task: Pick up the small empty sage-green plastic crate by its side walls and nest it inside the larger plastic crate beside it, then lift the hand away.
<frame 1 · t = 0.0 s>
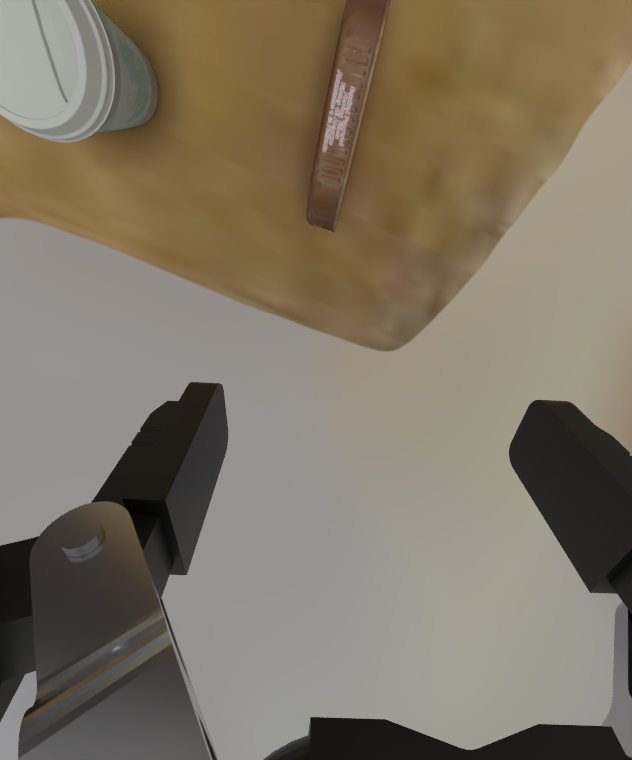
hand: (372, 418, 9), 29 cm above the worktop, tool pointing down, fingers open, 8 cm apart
tin: (340, 127, 30), on the worktop
coffee cup: (123, 83, 28), on the worktop
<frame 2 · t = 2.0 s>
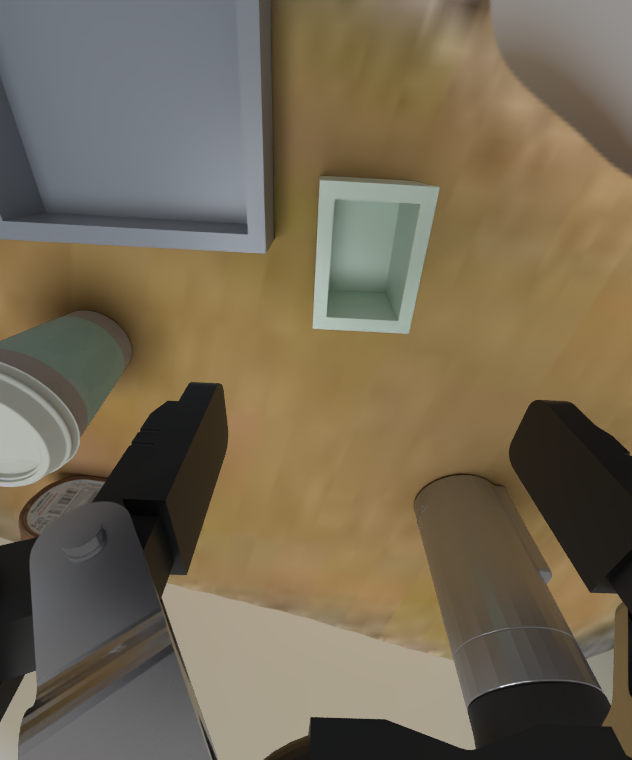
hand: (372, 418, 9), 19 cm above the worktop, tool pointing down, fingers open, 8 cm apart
small crate: (359, 243, 24), on the worktop
tin: (127, 484, 39), on the worktop
large crate: (133, 83, 20), on the worktop
coffee cup: (98, 341, 29), on the worktop
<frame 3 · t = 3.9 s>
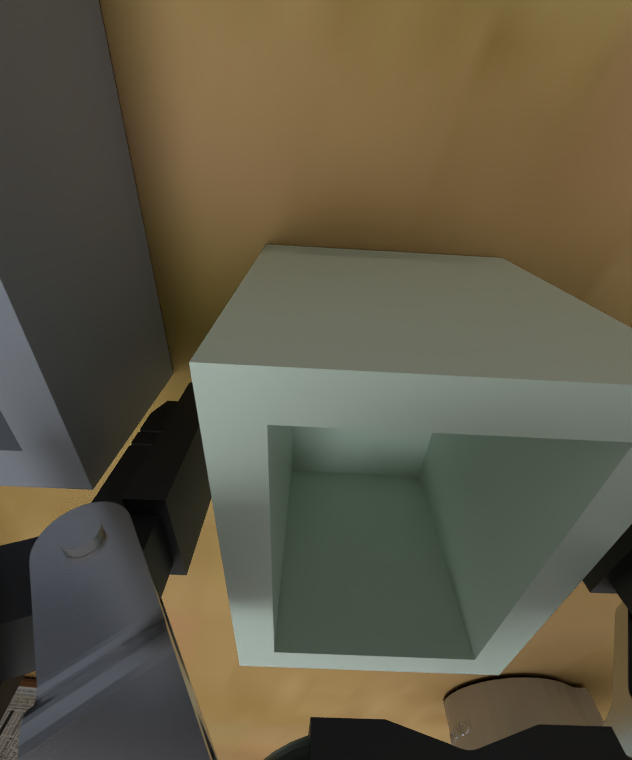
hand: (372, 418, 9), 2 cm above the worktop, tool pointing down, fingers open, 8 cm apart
small crate: (364, 383, 11), on the worktop
tin: (3, 674, 25), on the worktop
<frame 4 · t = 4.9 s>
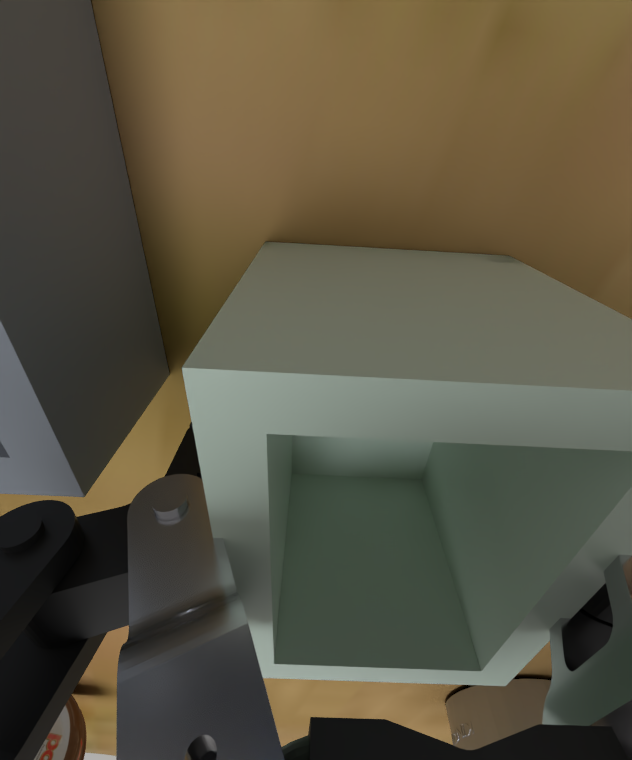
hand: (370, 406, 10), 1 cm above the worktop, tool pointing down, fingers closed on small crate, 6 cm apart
small crate: (366, 384, 11), on the worktop, touching gripper
tin: (2, 676, 25), on the worktop
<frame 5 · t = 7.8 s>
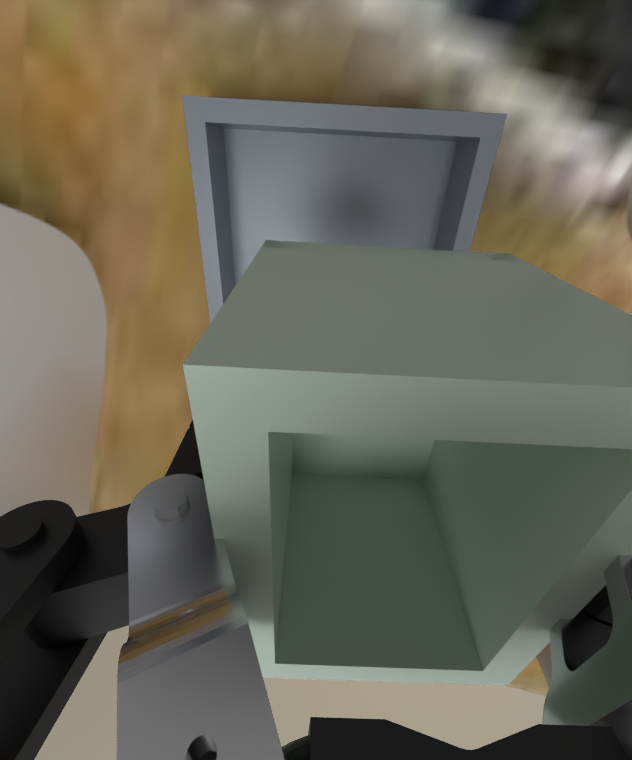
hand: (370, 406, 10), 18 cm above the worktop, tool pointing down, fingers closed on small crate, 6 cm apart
small crate: (367, 383, 11), point 17 cm above the worktop, touching gripper
large crate: (331, 253, 25), on the worktop
when the fingers open (4 cm above the worktop, at t = 11.1 s): small crate drops 2 cm, resting on large crate.
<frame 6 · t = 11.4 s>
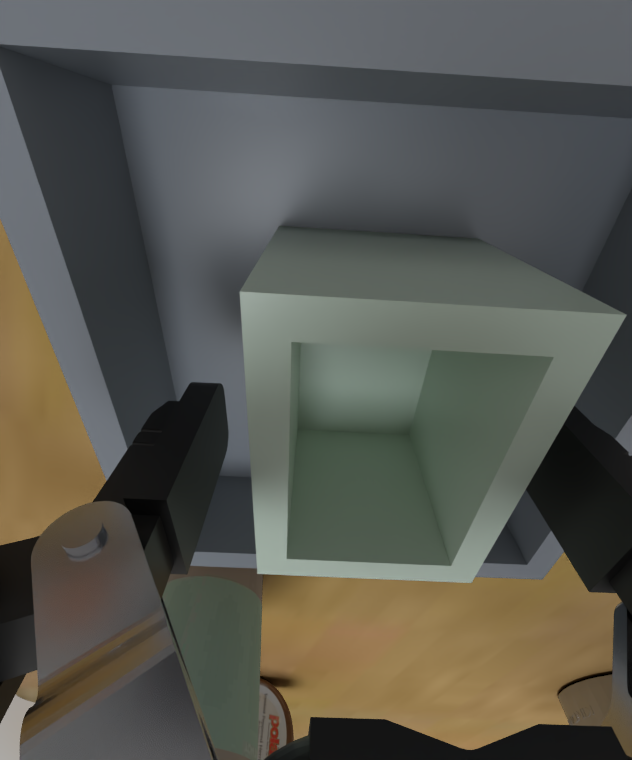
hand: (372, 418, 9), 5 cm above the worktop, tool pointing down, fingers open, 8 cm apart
small crate: (362, 350, 13), point 1 cm above the worktop, touching large crate
tin: (216, 672, 32), on the worktop
large crate: (356, 339, 13), on the worktop, touching small crate
coffee cup: (218, 569, 22), on the worktop
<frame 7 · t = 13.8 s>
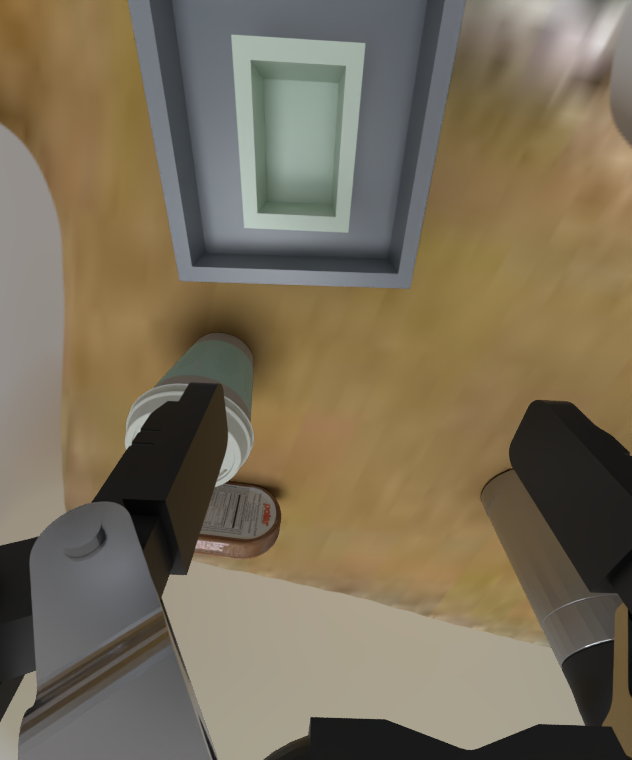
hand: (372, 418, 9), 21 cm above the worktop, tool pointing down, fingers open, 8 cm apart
small crate: (300, 146, 23), point 1 cm above the worktop, touching large crate
tin: (223, 483, 43), on the worktop
large crate: (299, 146, 23), on the worktop, touching small crate
coffee cup: (223, 359, 33), on the worktop
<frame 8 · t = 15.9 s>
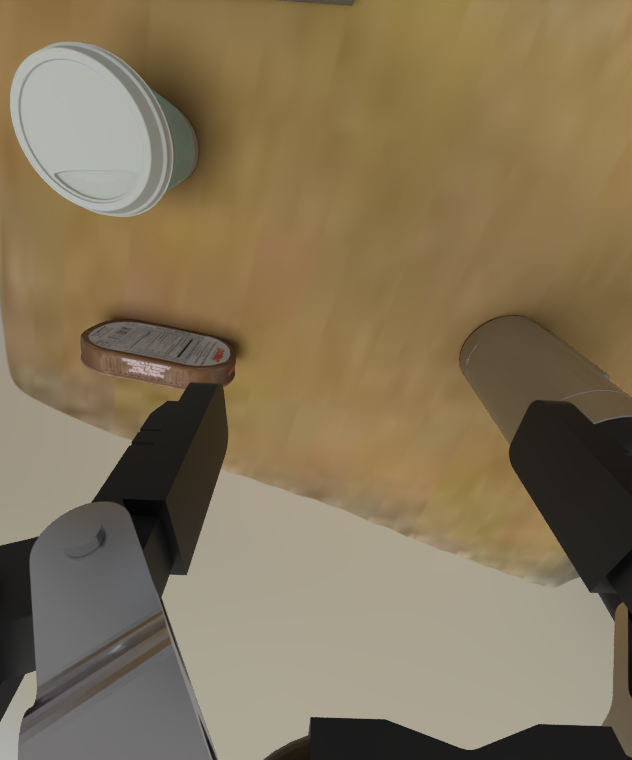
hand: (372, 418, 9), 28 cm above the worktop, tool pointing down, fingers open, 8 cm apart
tin: (177, 334, 39), on the worktop
coffee cup: (165, 144, 29), on the worktop
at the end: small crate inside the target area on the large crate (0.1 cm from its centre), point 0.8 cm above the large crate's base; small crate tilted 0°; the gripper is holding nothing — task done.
